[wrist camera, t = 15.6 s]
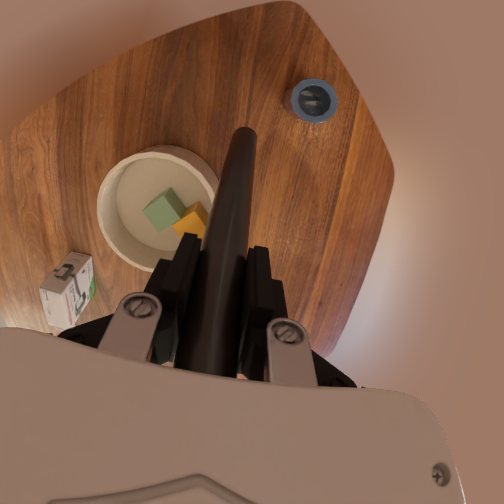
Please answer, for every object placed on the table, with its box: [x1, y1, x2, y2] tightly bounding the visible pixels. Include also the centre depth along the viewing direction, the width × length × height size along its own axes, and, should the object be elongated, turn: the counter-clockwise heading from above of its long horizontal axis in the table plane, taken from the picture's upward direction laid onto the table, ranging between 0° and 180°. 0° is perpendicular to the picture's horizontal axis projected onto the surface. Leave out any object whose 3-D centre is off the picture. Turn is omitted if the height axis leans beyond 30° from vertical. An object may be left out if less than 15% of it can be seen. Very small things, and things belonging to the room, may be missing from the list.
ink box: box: [39, 251, 95, 330], centre depth 43 cm, size 9×5×12 cm, turn 167°
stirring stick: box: [173, 127, 257, 378], centre depth 15 cm, size 2×2×20 cm
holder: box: [283, 78, 338, 124], centre depth 31 cm, size 5×5×8 cm
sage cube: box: [142, 187, 186, 233], centre depth 40 cm, size 4×4×4 cm
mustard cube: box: [172, 201, 209, 239], centre depth 41 cm, size 4×4×4 cm
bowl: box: [97, 145, 219, 272], centre depth 39 cm, size 17×17×6 cm
